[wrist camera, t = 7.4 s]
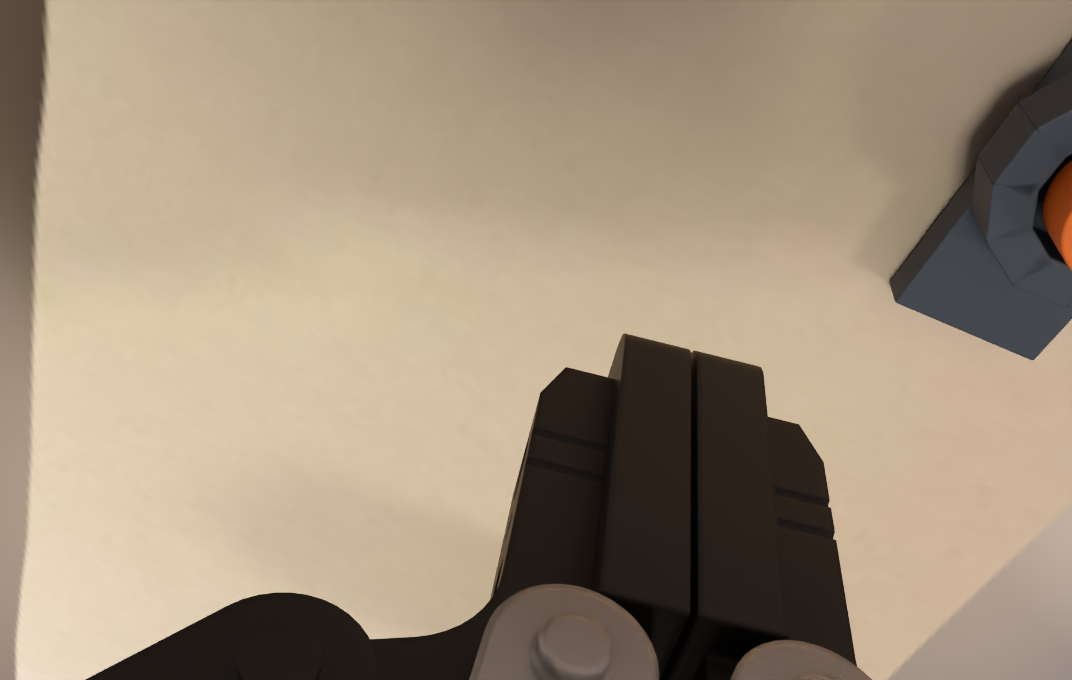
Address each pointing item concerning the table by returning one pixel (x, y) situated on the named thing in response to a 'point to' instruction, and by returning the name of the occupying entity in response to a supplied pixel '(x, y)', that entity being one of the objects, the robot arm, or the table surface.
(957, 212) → the button box
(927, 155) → the table surface
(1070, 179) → the button
